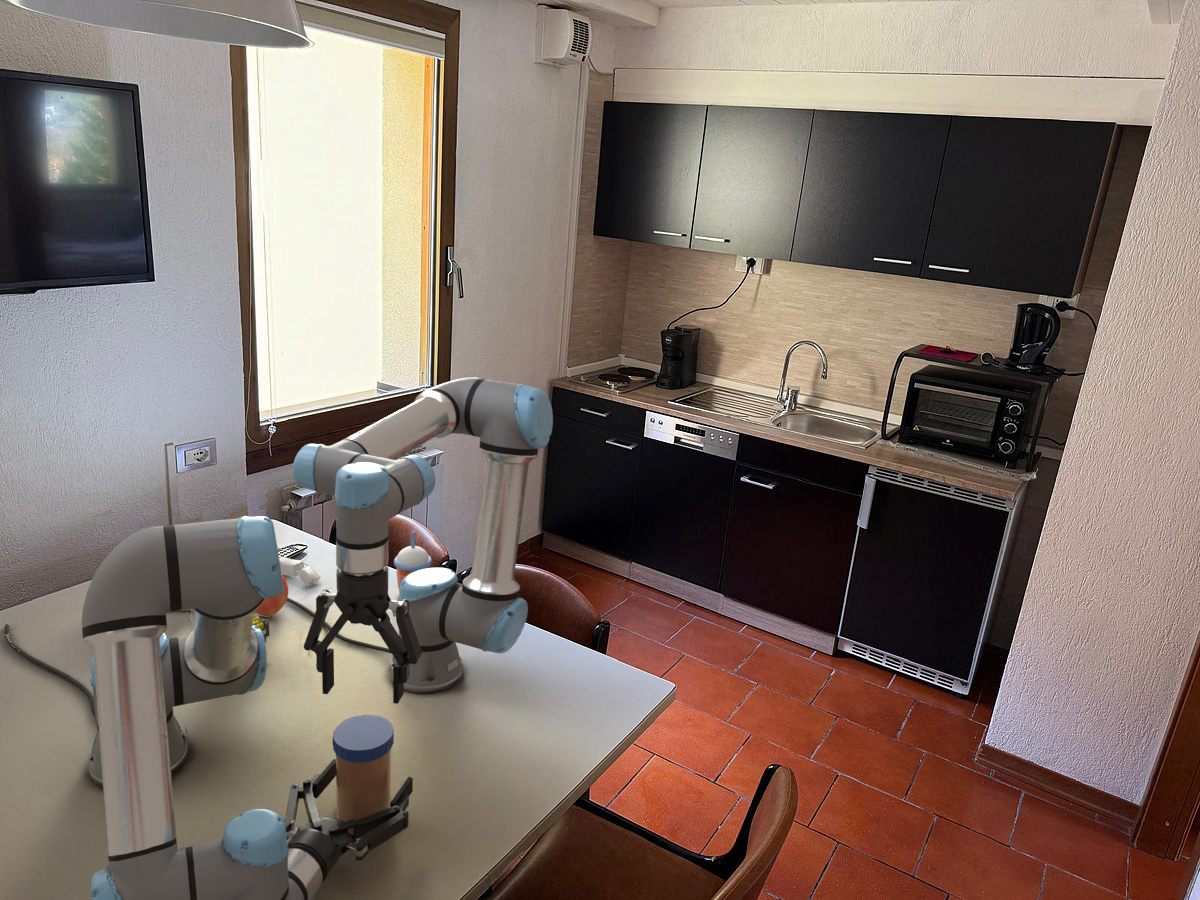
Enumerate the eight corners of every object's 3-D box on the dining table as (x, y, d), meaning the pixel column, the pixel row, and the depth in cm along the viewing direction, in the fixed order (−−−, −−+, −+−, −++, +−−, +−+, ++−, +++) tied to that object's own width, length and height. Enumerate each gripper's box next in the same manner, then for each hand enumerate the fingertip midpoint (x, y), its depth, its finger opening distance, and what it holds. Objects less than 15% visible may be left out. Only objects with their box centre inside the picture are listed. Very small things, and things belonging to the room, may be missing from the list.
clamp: (253, 565, 223) (254, 542, 221) (265, 560, 226) (266, 537, 224) (309, 593, 215) (310, 569, 213) (320, 588, 218) (321, 564, 216)
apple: (273, 600, 207) (272, 562, 204) (297, 613, 202) (296, 575, 199) (237, 614, 200) (234, 575, 197) (261, 628, 194) (259, 588, 191)
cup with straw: (422, 608, 209) (423, 541, 204) (387, 602, 210) (387, 535, 205) (436, 592, 217) (437, 527, 212) (403, 587, 219) (403, 522, 214)
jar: (325, 819, 140) (323, 736, 135) (366, 791, 147) (366, 711, 142) (361, 843, 135) (360, 758, 131) (401, 813, 142) (402, 732, 138)
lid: (320, 746, 136) (319, 734, 135) (366, 719, 143) (366, 707, 142) (360, 771, 131) (360, 758, 130) (406, 741, 138) (406, 729, 138)
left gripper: (226, 868, 126) (306, 777, 146) (381, 910, 121) (442, 810, 141) (223, 826, 124) (304, 740, 143) (381, 867, 119) (443, 772, 138)
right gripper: (445, 564, 130) (441, 690, 137) (299, 547, 132) (302, 671, 139) (430, 586, 123) (427, 717, 130) (276, 567, 125) (281, 697, 132)
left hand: (373, 774), depth 142 cm, fingers open, 13 cm apart
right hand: (363, 694), depth 134 cm, fingers open, 11 cm apart
